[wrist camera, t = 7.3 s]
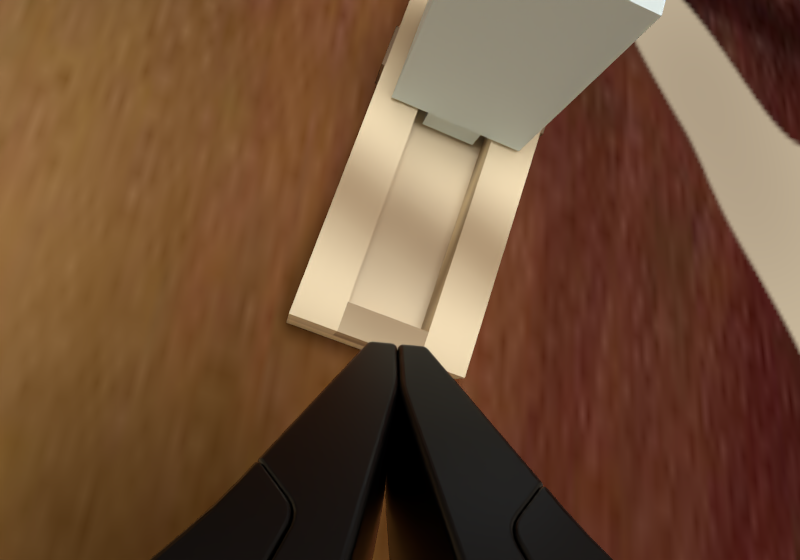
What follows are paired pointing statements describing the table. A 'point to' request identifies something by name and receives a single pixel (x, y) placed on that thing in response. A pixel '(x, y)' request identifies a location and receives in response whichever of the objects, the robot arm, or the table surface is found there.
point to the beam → (412, 228)
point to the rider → (513, 61)
